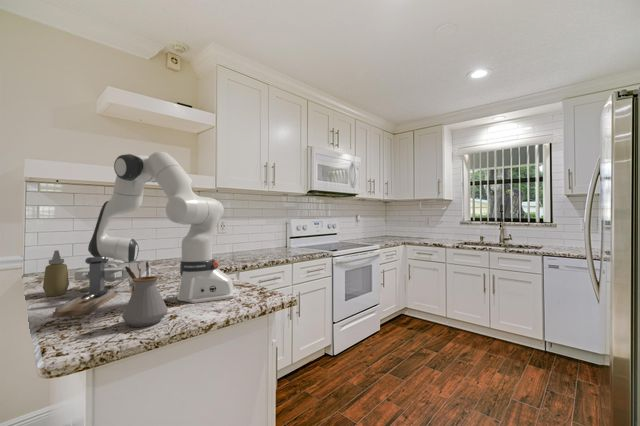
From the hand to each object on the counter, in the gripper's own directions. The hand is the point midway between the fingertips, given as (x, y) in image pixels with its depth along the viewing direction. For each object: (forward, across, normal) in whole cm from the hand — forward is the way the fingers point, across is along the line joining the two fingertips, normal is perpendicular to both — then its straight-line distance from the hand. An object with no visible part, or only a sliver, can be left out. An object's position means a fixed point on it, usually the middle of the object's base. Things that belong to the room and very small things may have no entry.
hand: (98, 276), depth 114 cm
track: (+8, 0, +9) cm, 12 cm away
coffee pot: (+30, +22, +9) cm, 39 cm away
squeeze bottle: (-14, -20, +9) cm, 26 cm away
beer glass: (+11, +17, +9) cm, 22 cm away
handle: (+5, 0, +7) cm, 8 cm away
